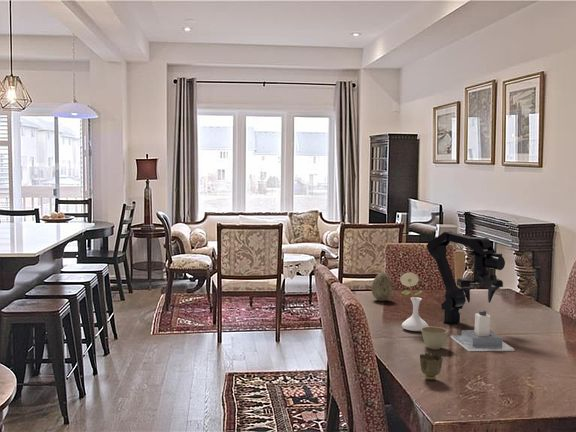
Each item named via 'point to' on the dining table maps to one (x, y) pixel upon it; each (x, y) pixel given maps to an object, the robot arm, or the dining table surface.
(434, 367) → the cup
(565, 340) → the dining table surface
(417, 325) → the flower in vase
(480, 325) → the plug
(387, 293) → the decorative egg
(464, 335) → the grey square frame
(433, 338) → the flower pot
